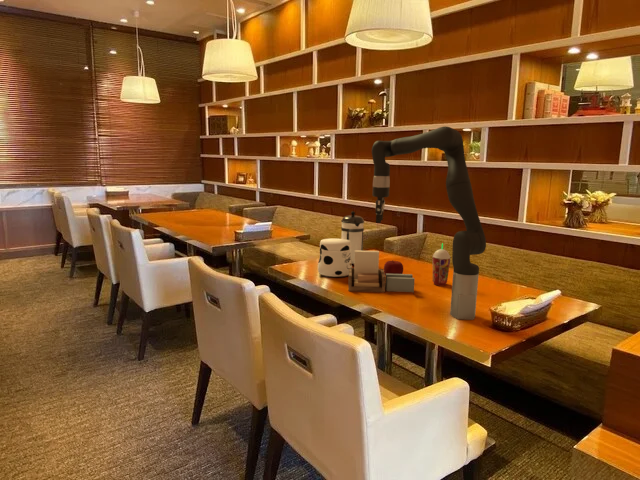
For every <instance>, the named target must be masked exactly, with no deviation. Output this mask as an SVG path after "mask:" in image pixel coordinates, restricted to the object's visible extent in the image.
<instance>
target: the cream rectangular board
mask: <svg viewBox="0 0 640 480" xmlns="http://www.w3.org/2000/svg"><path fill="white" fill-rule="evenodd" d="M379 258H380V251H379V250H363V251H359V250H355V263H354V264H353V265H354V267H353V268H354V279H357V273H377V274H378V269H379V266H380V265H379V263H380V259H379Z"/></svg>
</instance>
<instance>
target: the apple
mask: <svg viewBox="0 0 640 480" xmlns="http://www.w3.org/2000/svg"><path fill="white" fill-rule="evenodd" d="M383 271H384V274H385V277H386V274H404V265H403V263H402V262H401V261H396V260H394V259H393V260H388V261H386V262H385V264H384V266H383Z"/></svg>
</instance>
